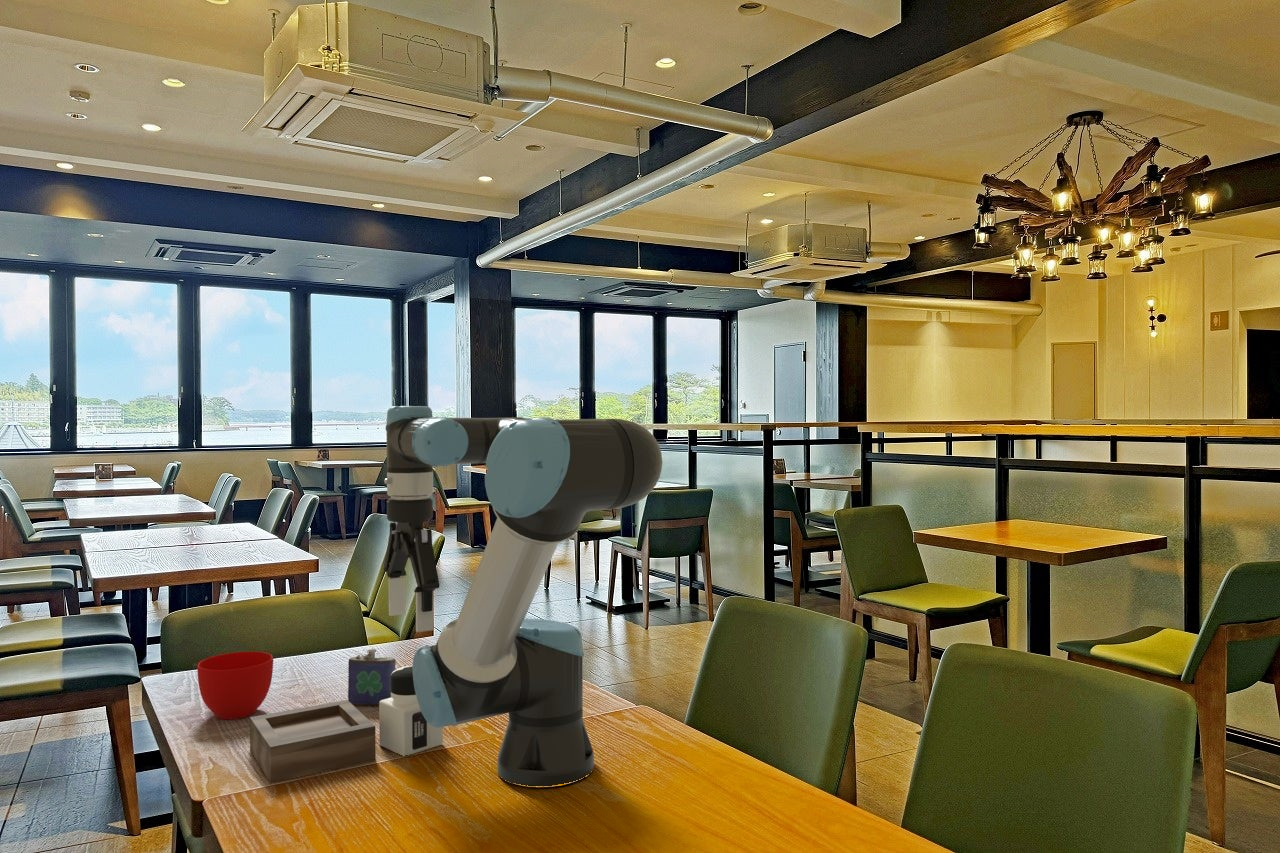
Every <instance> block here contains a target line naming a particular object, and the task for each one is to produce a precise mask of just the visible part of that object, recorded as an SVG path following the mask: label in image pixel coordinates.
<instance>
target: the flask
mask: <svg viewBox="0 0 1280 853" xmlns="http://www.w3.org/2000/svg"><path fill="white" fill-rule="evenodd" d="M376 652H377V649H374V648H372V649H367V654H365V655H364V654H358V655H356V656H352V657H349V659H348V668H347V669H348V680H347V681H348V682H347V684H348V687H347V690H348V691H347V700H348V701H349V702H350V703H351V704H352V705H353V706H354V707H361V708H362V707H364V708H365V707H371V708H372V707H379V702H380V701H381V700H384V699H388V698H391V674H392V672H393V671H395V670H396V664H397V660H396V658H395V657H393V656H390V657H382V656H381V657H376Z"/></svg>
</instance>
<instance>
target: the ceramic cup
mask: <svg viewBox="0 0 1280 853" xmlns="http://www.w3.org/2000/svg"><path fill="white" fill-rule="evenodd" d="M196 669H197V671H196V672H197V681H198V687H199V692H200V696H201V699H202V701H203V702H204V704H205V705H206V707H207V709H208V710H209V711H210V712H211V713H212V714H214V715H215V716H216V717H217V719H221V720H238V719H242V718H246V717H251V716H252V715H254V714H255V713H256V711H257V710H258V708H260V706H261V705H262V704H263V702H264V701H265V699H266V697H267V695H268V693H269V691H270V688H271V684H272V679H273V672H274V670H273V669H274V657H273V655H272V654H271V653H269V652H264V651H235V652H227V653H222V654H217V655H213V656H210V657H208V658H205V659H202V660H200V661H199V662H198V663H197V668H196Z"/></svg>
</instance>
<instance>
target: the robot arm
mask: <svg viewBox="0 0 1280 853" xmlns="http://www.w3.org/2000/svg"><path fill="white" fill-rule="evenodd" d="M385 432H386V478H384V480H383V481H384V482H383V483H384V484H385V485H386V495H387V496H388V497H390V498H388V499H387V500H386V520H387V521H388V522H390V523H389V536H388V541H387V548H386V552H385V553H386V554H385V558H384V565H383V571H384V573H386V576H387V578H388V616H389V617H395V616H402V615H406V577H405V576H407V575H408V574H407V572H406V566H407V562H408V560H410V564H411V567H412V571H413V574H414V578H415V582H416V585H417V586H415V588H414V590H413V592H414V593H415V632H416V633H422V632H429V631H434V624H435V623H434V619H435V618H434V614H435V613H434V609H435V608H434V607H435V606H434V591H435V590H436V589H440V580H439V574H438V569H437V562H436V558H435V552H434V546H433V533H432V529H431V528H424V522H428V521H430V520H432V519H433V516H434V515H433V514H434V509H433V508H434V500H433V499H432V497H430V496H432V495H433V494H434V467H436V468H438V467H447V466H451V465H468V464H484V463H485V467H486V469H487V470H486V473H484V474H485V475H484V487H485V491H486V496H487V498H488V501H489V503H490V504H491V507H492V510H493V513H494V514H495V517H496V520H495V523H494V526H493V528H492V531H491V533H490V535H489V538H488V541H487V544H486V545H485V548H484V551H483V553H482V556H481V558H480V561H479V563H478V566H477V568H476V572H475V574H474V576H473V579H472V581H471V584H470V587H469V589H468V592H467V593H466V597H465V599H464V602H463V603H462V607H461V609H460V611H459V615H458V617H457V618H456V619H453V620H452V621H450V622H449V623H448V624H446V625H445V626H444V627H443V629H442V630H441V631H440V634H439V636H438V639H437V641H436V644H434V645H430V646H429V645H428V644H426V645H424V646H421V647H420V648H418V649H417V650H416V651H415V652H414V654H413V657H412V666H413V681H414V688H415V693H416V697H417V701H418V704H419V707H420V710H421V712H422V714H423V716H424V718H425V719H426V721H427V722H428V723H429V724H431V725H432V726H434V727H443V728H444V727H450V726H451V727H457V726H458V725H461V724H466V723H471V722H475V721H480V720H483V719H489V718H493V717H496V716H501V715H505V714H508V723H507V726H506V729H505V733H504V735H503V739H502V742H501V745H500V749H499V751H498V753H497V754H498V755H497V760H496V761H497V770H498V771H497V770H496V771H497V775H498V774H499V775H498V776H500V777H502V778H503V779H504V780H506V781H509V782H511V783H516V784H521V785H526V786H527V785H528V786H552V785H558V784H564V783H569V782H573V781H576V780H579V779H581V778H583V777H585V776H586V775H588V774H590V773H591V771H592V770H593V768H595V753H594V749H593V747H592V743H591V740H590V737H589V733H588V731H587V728H586V724H585V722H584V716H583V714H584V712H583V710H584V706H583V702H584V700H583V697H584V694H583V693H584V692H583V690H584V688H583V686H584V684H583V683H584V681H583V679H584V677H583V675H584V674H583V673H584V668H583V667H584V666H583V663H584V660H583V658H584V657H585V654H584V647H583V646H584V645H583V638H582V637H583V636H582V633H581V632H580V630H579V629H578V628H577V627H576V626H574V625H572V624H569V623H566V622H564V621H562V622H561V621H558V620H551V619H541V618H537V619H536V618H526V616H527V613H528V611H529V609H530V608H531V604H532V602H533V600H534V598H535V596H536V594H537V592H538V589H539V588H540V585H541V583H542V580H543V578H544V576H545V574H546V572H547V569H548V567H549V566H550V563H551V561H552V559H553V555H555V554H554V553H555V552H556V549H557V548H558V545H559V543H563V542H566V541H568V540H570V539H571V538H572V537H573V536H574V535H575V534H576V532H577V531H578V529H579V528H580V525H581V523H582V521H583V520H584V517H585V514H586V513H587V512H593V511H604V510H614V509H615V510H616V509H622V508H623V509H624V508H626V507H628V506H633V505H634V504H637V503H639V502H640V501H642V500H643V499H644V498H646V497H647V496H648V495H649V494H651V493H652V491H653V490H654V488H655V487H656V486H657V483H658V481H659V480H660V477H661V473H662V469H663V456H662V451H661V448H660V445H659V443H658V440H657V439H656V437H655V436H654V435H653V434H652V432H651V431H649V430H648V429H647V428H646V427H644V426H642V425H641V424H639V423H637V422H635V421H631V420H627V419H624V418H623V419H621V418H578V419H577V418H575V419H574V418H573V419H572V418H571V419H554V418H551V417H544V416H543V417H535V418H531V417H530V418H529V417H523V416H514V417H513V416H512V417H446V416H445V417H444V416H443V417H438V416H435V417H433V410H432V408H431V407H429V406H425V405H423V406H422V405H417V406H415V405H400V406H398V405H392V406H390V407H389V409H388V410H387V412H386V425H385ZM593 771H594V770H593ZM591 774H592V773H591ZM591 774H590V775H591ZM500 777H499V778H500ZM503 779H502V780H503ZM504 780H503V781H504ZM506 781H505V782H506Z"/></svg>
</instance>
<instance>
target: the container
mask: <svg viewBox="0 0 1280 853" xmlns="http://www.w3.org/2000/svg"><path fill="white" fill-rule="evenodd" d="M378 707H379V708H378V709H379V711H378V712H379V714H378V715H379V717H378V718H379V745H380V746H381V747H383V748H385V749H387V750H389V751H391V752H394V753H395V754H397V753H398V755H399V754H400V756H401V755H403V756H402V757H404V755H408V756H410V755H409V754H411V755H413V754H417V753H419V752H423V751H427V750H429V749H432V748H435V747H436V748H437V747H438V746H441V745H443V743H444V740H443V739H444V738H443V737H444V732H443V731H444V727H434V726H432V725H431V724H429V723H428V722H427V721H426V719H425V718H424V716H423V714H422V712H421V710H420V707H419V704H418V701H417V697H416V693H415V688H414V681H413V665H407V666H401V667H399V668H397V669H395V671H393V672H392V674H391V698H388V699H384V700H381V701H380V702H379V706H378Z"/></svg>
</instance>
